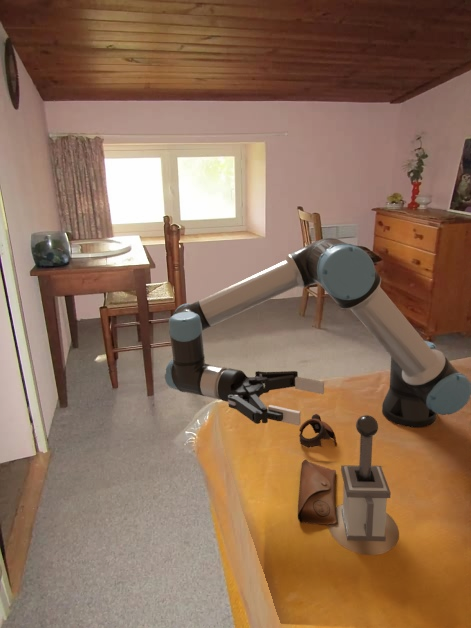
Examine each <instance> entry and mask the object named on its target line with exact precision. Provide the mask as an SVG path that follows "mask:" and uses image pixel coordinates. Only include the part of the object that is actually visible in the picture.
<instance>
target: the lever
mask: <svg viewBox="0 0 471 628" xmlns="http://www.w3.org/2000/svg"><path fill="white" fill-rule="evenodd" d="M355 428H356V431H357V432H358V433H359V435H360V438H359V440H360V441H359V442H360V443H359V465H358V466H359V482H370V480H371V466H372V458H373V457H372V456H373V437H374V436H375V435H376V434H377V432H378V430H379V423H378V422H377V420H376V418H375V417H374V416H372V415H368V414H363V415H362V416H360V417H359V418H358V419H356V422H355Z"/></svg>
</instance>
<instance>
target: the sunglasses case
mask: <svg viewBox="0 0 471 628" xmlns="http://www.w3.org/2000/svg"><path fill="white" fill-rule="evenodd" d="M300 467H301V469H300V475H299V476H300V478H299V489H298V502H297V503H298V504H297V518H298V521H299V522H300V523H301V524H307V525H308V524H310V525H318V526H320V525H321V526H328V525H333V524H336V523H337V515H336V509H335V508H336V499H335V498H336V497H335V496H336V495H335V486H336V485H335V484H336V482H335V481H336V473H337V471H336V469H330V468H328V467H325V466H321V465H320V464H316V463H314V462H311V461H309V460H308V459H304V460H303V461H302V463H301V466H300Z"/></svg>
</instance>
